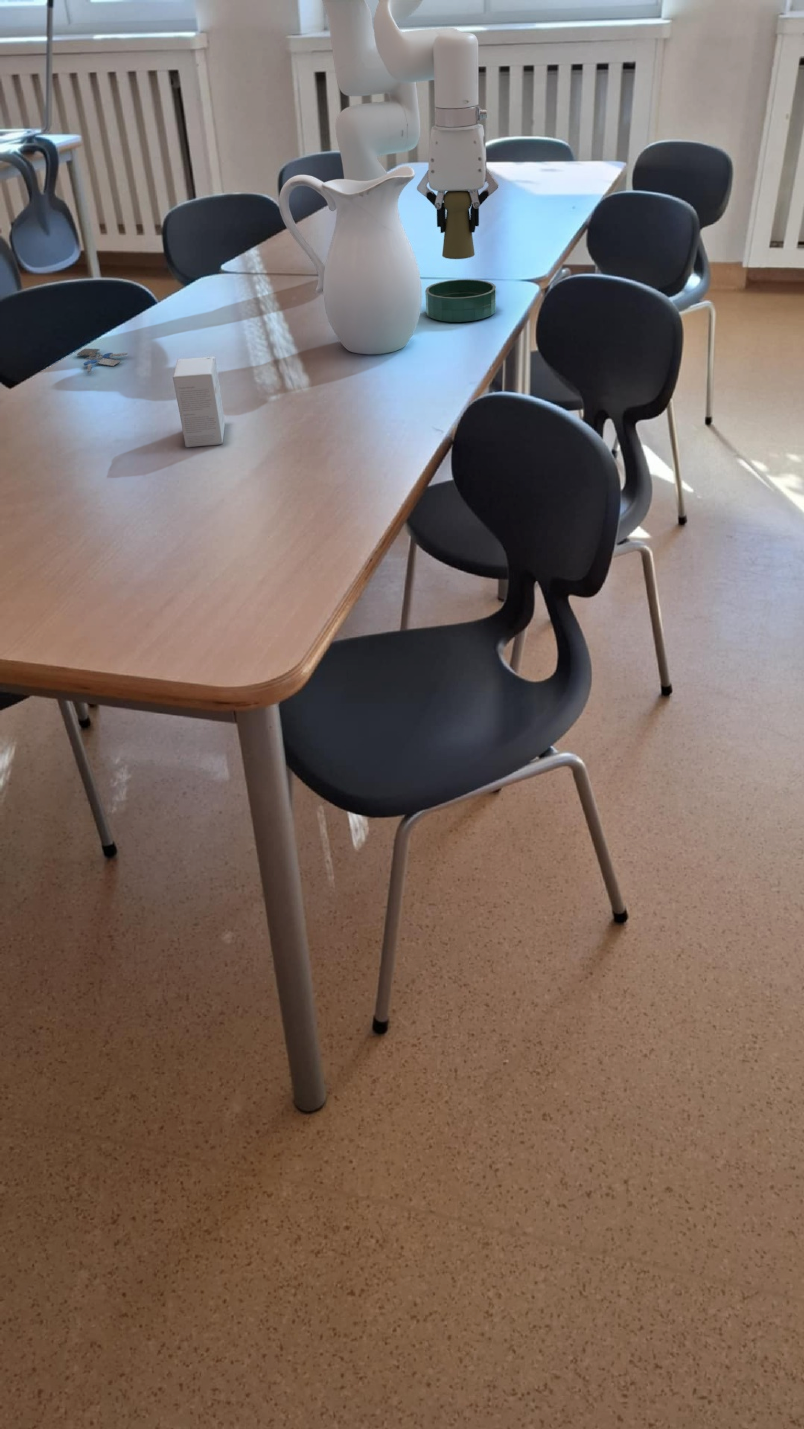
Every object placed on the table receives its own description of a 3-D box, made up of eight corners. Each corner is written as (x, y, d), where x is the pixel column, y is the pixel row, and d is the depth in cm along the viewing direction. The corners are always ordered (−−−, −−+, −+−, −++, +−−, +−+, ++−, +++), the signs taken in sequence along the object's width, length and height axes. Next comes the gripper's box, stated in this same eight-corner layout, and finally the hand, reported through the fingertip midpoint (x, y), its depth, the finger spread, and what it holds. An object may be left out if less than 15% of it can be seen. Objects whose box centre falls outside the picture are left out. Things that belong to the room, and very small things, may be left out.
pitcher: (436, 333, 193) (429, 162, 176) (405, 362, 180) (395, 182, 164) (315, 327, 200) (298, 162, 184) (277, 355, 187) (256, 181, 171)
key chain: (74, 353, 194) (73, 348, 194) (119, 345, 197) (118, 341, 196) (87, 374, 184) (86, 370, 183) (134, 366, 186) (134, 361, 186)
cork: (472, 259, 194) (471, 193, 187) (439, 259, 195) (437, 193, 188) (476, 250, 198) (476, 186, 192) (445, 250, 200) (443, 186, 193)
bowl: (423, 324, 198) (422, 299, 195) (430, 304, 208) (429, 280, 206) (493, 322, 196) (493, 297, 193) (497, 302, 206) (497, 278, 204)
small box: (189, 428, 161) (176, 358, 155) (226, 425, 161) (215, 355, 155) (184, 448, 155) (171, 376, 148) (223, 445, 155) (211, 373, 149)
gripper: (507, 112, 185) (505, 225, 196) (410, 115, 187) (414, 226, 198) (505, 120, 179) (503, 235, 190) (405, 123, 181) (409, 237, 192)
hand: (458, 229), depth 194 cm, fingers closed on cork, 4 cm apart
